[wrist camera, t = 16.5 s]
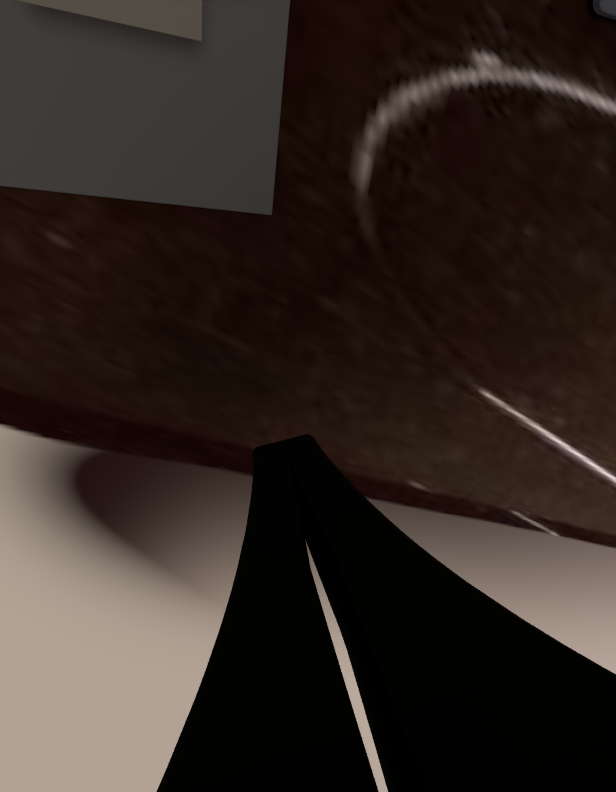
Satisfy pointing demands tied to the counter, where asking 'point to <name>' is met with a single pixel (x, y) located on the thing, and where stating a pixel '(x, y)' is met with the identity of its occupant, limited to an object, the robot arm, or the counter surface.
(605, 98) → the counter surface
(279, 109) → the mat
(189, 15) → the domino
